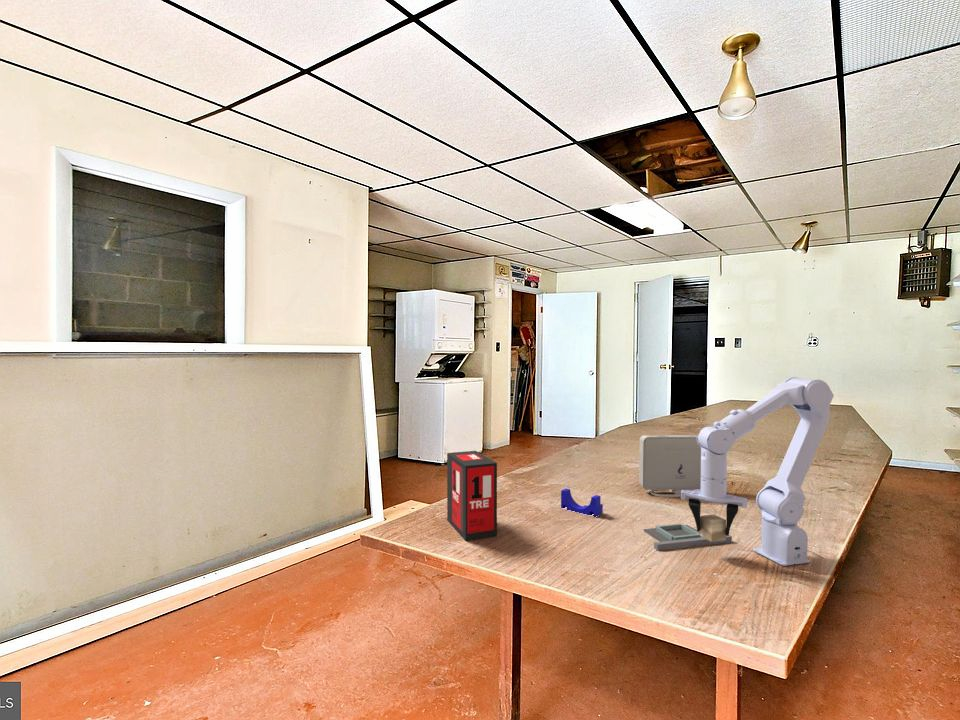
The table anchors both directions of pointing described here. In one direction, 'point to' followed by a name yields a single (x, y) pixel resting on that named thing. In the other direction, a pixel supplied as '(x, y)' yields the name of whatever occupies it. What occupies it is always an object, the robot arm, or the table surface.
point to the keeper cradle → (673, 532)
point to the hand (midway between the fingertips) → (713, 532)
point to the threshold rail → (687, 543)
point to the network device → (669, 463)
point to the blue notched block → (573, 506)
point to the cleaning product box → (472, 495)
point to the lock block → (713, 528)
